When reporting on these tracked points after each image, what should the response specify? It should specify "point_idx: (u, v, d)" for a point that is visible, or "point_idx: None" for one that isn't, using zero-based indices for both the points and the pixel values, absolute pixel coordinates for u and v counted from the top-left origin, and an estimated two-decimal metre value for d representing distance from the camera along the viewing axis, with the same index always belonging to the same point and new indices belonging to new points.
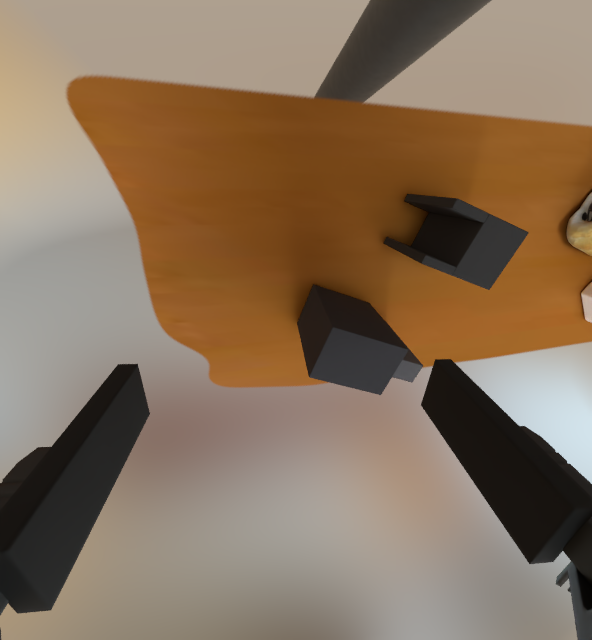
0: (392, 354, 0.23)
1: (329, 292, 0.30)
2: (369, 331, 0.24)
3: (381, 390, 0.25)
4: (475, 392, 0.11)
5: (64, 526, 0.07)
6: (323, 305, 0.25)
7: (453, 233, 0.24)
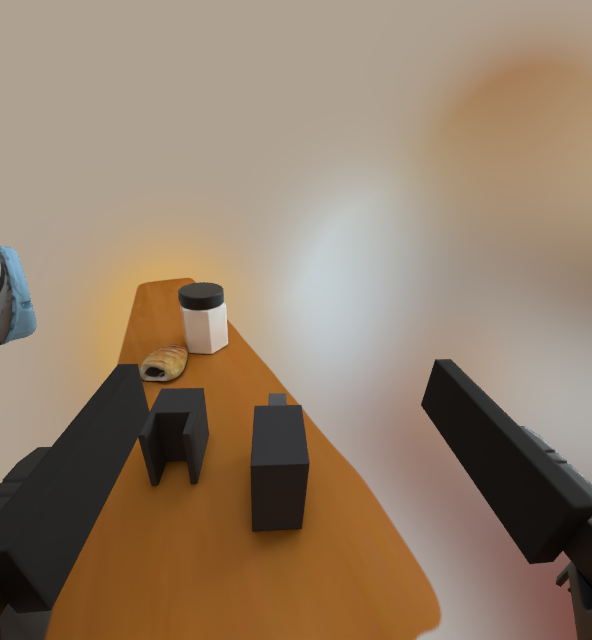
0: (262, 413, 0.29)
1: None
2: None
3: (296, 406, 0.30)
4: (475, 392, 0.11)
5: (64, 526, 0.07)
6: (251, 495, 0.26)
7: (170, 429, 0.32)
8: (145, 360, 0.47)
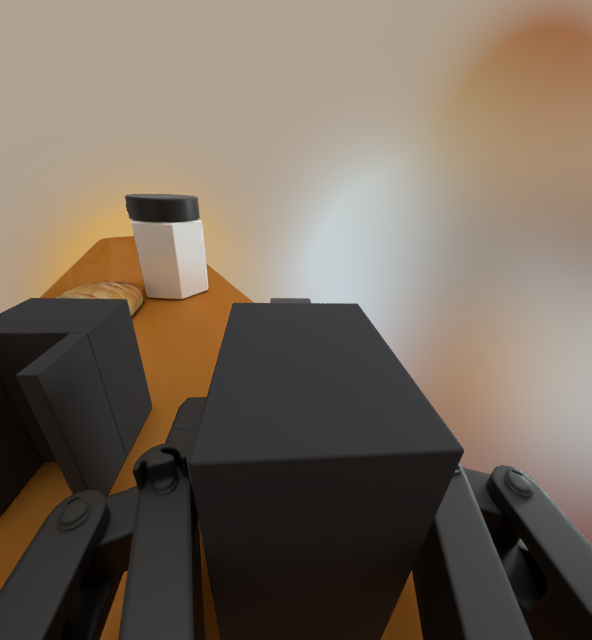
0: (252, 315, 0.10)
1: None
2: None
3: (347, 305, 0.11)
4: None
5: None
6: (210, 581, 0.07)
7: None
8: (63, 295, 0.28)
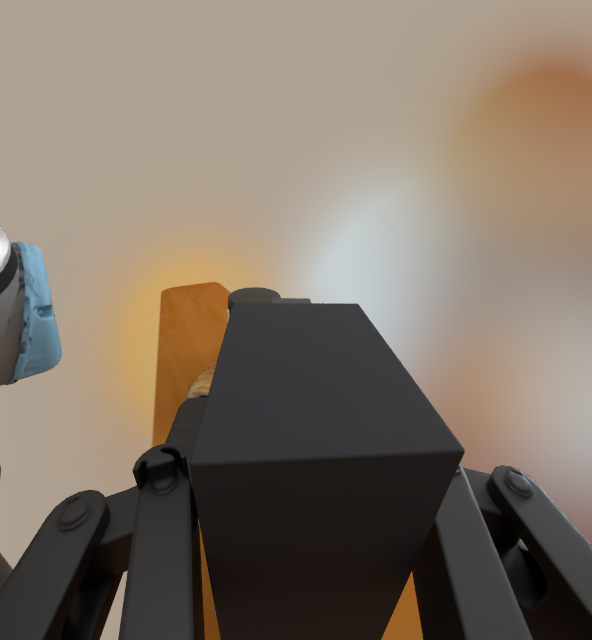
0: (253, 315, 0.10)
1: None
2: None
3: (347, 305, 0.11)
4: None
5: None
6: (211, 582, 0.07)
7: None
8: (194, 386, 0.38)
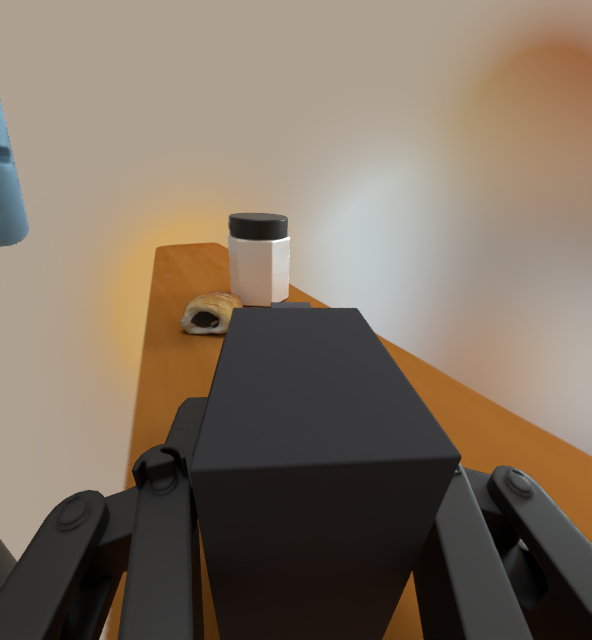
0: (253, 319, 0.10)
1: None
2: None
3: (346, 309, 0.11)
4: None
5: None
6: (211, 586, 0.07)
7: None
8: (190, 304, 0.33)
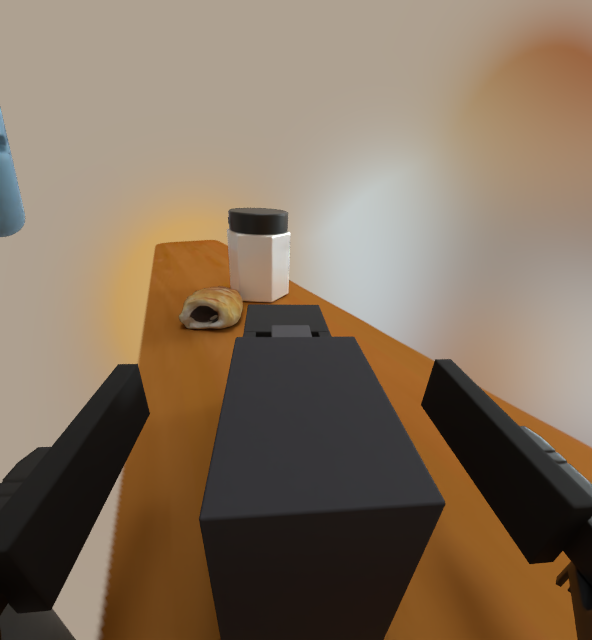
0: (255, 351, 0.11)
1: None
2: None
3: (344, 338, 0.12)
4: (475, 392, 0.11)
5: (64, 526, 0.07)
6: (216, 612, 0.07)
7: None
8: (189, 299, 0.33)
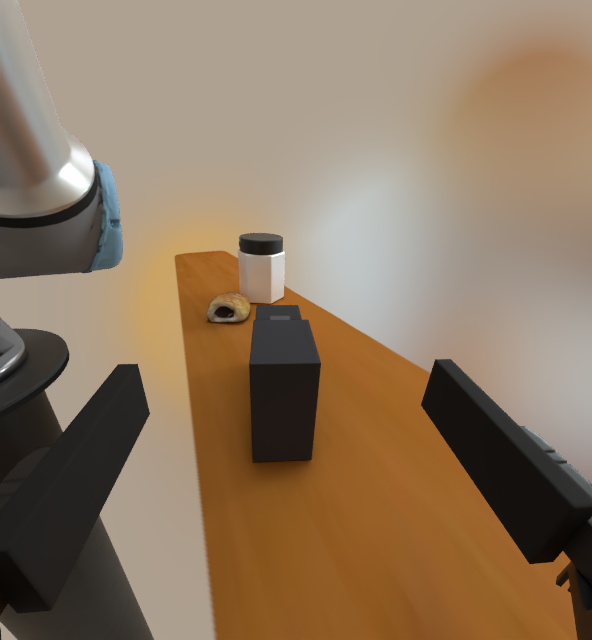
0: (262, 325, 0.25)
1: None
2: None
3: (303, 320, 0.26)
4: (475, 392, 0.11)
5: (64, 526, 0.07)
6: (251, 410, 0.21)
7: None
8: (213, 301, 0.47)
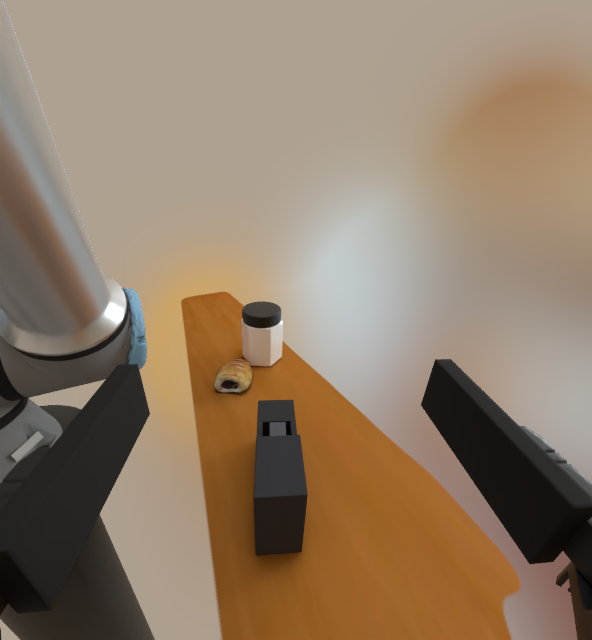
0: (263, 444, 0.31)
1: None
2: None
3: (295, 436, 0.32)
4: (475, 392, 0.11)
5: (64, 526, 0.07)
6: None
7: None
8: (220, 374, 0.53)
